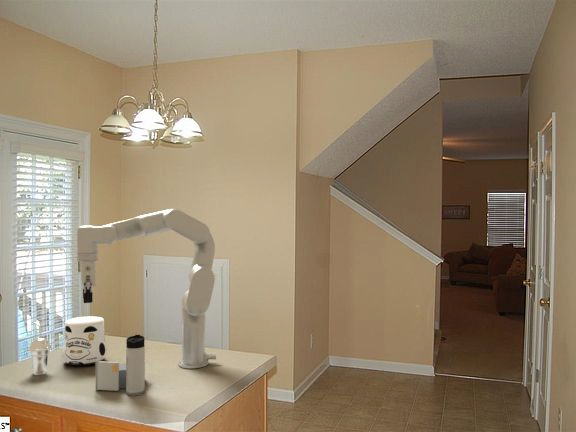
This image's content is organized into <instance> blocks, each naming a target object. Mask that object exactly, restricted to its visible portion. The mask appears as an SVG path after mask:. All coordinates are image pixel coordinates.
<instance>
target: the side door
mask: <svg viewBox="0 0 576 432" xmlns="http://www.w3.org/2000/svg"><path fill="white" fill-rule="evenodd" d="M119 364H120V362H119V361H106V360H105V361H103V360H102V361H96V363H95V391H100V390H101V391H114V392H115V391H116V392H117V391H119V390H120V388H119Z"/></svg>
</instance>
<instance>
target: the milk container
mask: <svg viewBox="0 0 576 432" xmlns="http://www.w3.org/2000/svg"><path fill="white" fill-rule="evenodd" d="M106 343H107V342H106V340H105V319H104V318H103V317H101V316H93V315H92V316H79V317H77V316H76V317H73V318H70V319H67V320H66V321H65V322H64V345H63V348H62V359H63V361H64V363H65V364H68V365H69V366H78V367H79V366H90V365H96V361H103V360H104V359H105V357H106V355H107V350H108V349H107V344H106Z"/></svg>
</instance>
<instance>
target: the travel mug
mask: <svg viewBox="0 0 576 432" xmlns="http://www.w3.org/2000/svg"><path fill="white" fill-rule="evenodd" d="M125 340H126V342H125V343H126V345H125V346H126V349H125V350H126V351H125V352H126V354H125V355H126V356H125V357H126V358H125V359H126V361H125V362H126V363H125V364H126V390H125V394H126V395H128V396H130V397H136V396H140V395H143V394H144V393H145V384H146V383H145V380H146V377H145V376H146V362H145V357H146V356H145V354H146V351H145V350H146V348H145V336H143V335H141V334H135V335H132V336H129V337H127V338H126V339H125Z"/></svg>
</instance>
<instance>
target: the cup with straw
mask: <svg viewBox="0 0 576 432" xmlns="http://www.w3.org/2000/svg"><path fill="white" fill-rule="evenodd" d="M31 323H32V324H34V325H36V326H38V327H39V334H38V335H39V336H38V337H39V338H35V339H33V340H32V341H31V344H30V346H29V347H28V349H27V351H29V352H30V356H31V363H32V372H33V375H35V376H39V375H40V376H41V375H45V374H47V369H48V363H49V355H50V351H51V349H52V348H53V347H52V344H50V341H49V340H47V339H46V338H44V337H42V325H41V324H39V323H38V322H35V321H34V320H32V321H31Z"/></svg>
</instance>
